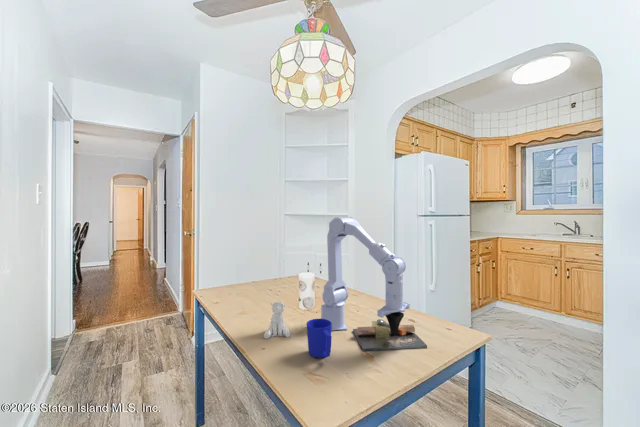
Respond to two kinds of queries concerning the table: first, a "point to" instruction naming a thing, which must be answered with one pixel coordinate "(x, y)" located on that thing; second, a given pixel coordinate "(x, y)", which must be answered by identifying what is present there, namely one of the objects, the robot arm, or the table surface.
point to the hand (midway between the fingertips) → (394, 333)
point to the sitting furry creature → (277, 322)
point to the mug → (319, 337)
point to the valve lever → (381, 322)
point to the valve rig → (387, 338)
